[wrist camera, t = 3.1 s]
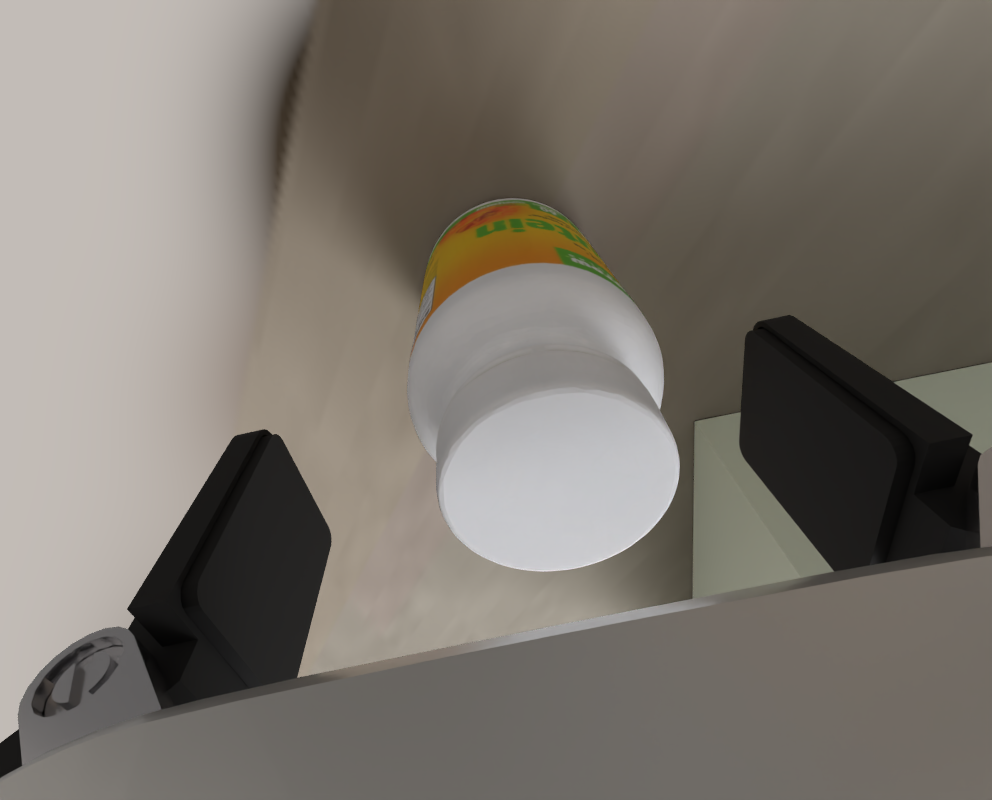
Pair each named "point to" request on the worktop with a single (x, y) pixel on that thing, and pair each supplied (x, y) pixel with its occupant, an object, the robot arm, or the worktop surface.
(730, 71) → the worktop surface
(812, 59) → the worktop surface
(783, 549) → the caddy
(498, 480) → the supplement bottle
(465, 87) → the worktop surface
